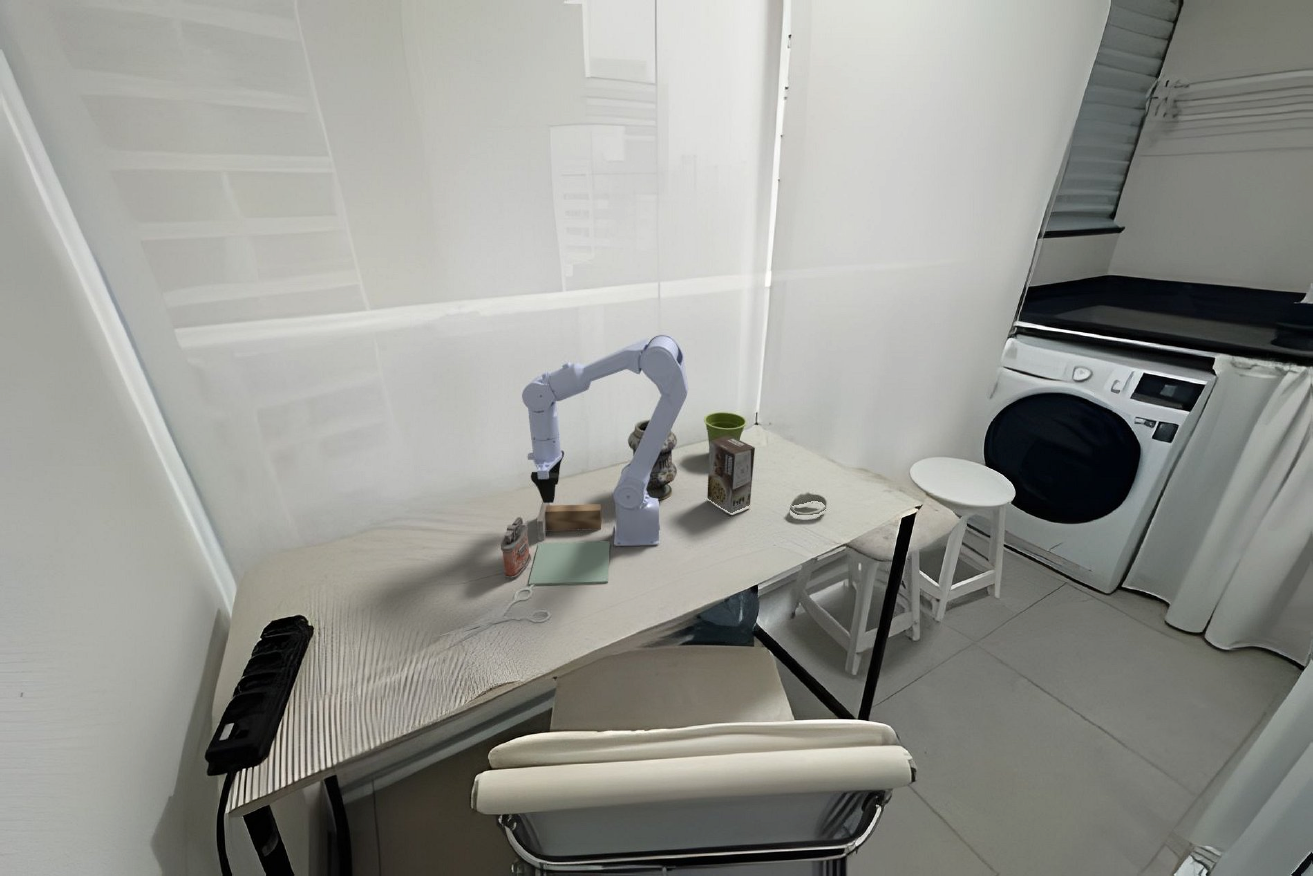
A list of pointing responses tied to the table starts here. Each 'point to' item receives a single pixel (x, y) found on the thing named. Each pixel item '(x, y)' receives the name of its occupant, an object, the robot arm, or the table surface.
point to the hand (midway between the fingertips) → (550, 492)
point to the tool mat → (571, 563)
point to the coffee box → (730, 473)
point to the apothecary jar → (657, 463)
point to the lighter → (515, 550)
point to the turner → (567, 518)
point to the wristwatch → (808, 498)
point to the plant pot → (724, 425)
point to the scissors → (501, 617)
